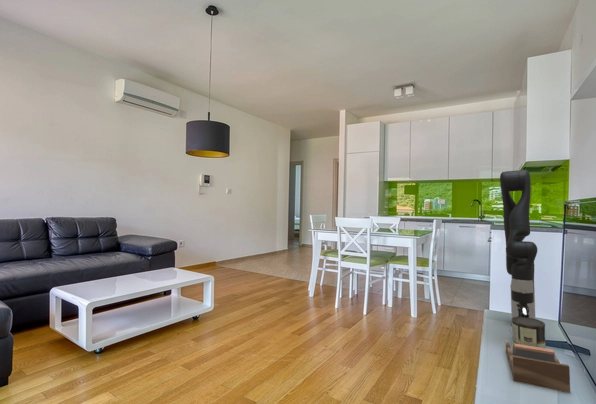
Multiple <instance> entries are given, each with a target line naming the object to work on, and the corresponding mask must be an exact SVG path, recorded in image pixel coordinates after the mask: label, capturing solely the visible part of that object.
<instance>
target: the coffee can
mask: <svg viewBox="0 0 596 404" xmlns="http://www.w3.org/2000/svg"><path fill="white" fill-rule="evenodd" d="M511 327H512V329H511V330H512V353H513V355H514V356H515V350H514V343H515V344H521V345H527V346H533V347H540V348H546V329H545V328H546V323H545V322H544V321H541V320H539V319H537V318H535V319H534V318H529V317H513V318H511Z"/></svg>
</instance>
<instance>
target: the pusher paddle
mask: <svg viewBox="0 0 596 404" xmlns="http://www.w3.org/2000/svg"><path fill="white" fill-rule="evenodd" d="M514 350H515V356H520V357H526V358H531V359H537V360H543V361H549V362H554V363H555V356H556V354H555V350H554V349H552V348H546V347H545V348H540V347H533V346H527V345H521V344H515V343H514Z"/></svg>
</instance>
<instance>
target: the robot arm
mask: <svg viewBox="0 0 596 404" xmlns="http://www.w3.org/2000/svg"><path fill="white" fill-rule="evenodd" d="M531 181H532V180H531V175H530V171H528V170H527V169H516V170H507V171H502V172H501V173H500V175H499V183H500V184H499V185H500V191H501V199H502V208H503V209H502V210H503V229H504V238H505V265H506V266H505V267H506V271H507V272H506V273H507V274H508V275H509V276H511V282H510V307H511V308H510V310H511V311H510V312H511V317H510V318H511V319H512V318H513V317H529V318H534V319H536V299H535V298H536V296H535V260H536V257H537V254H538V246H537V245H536V243H535V242H533V241H524V239H525V238H526V237H528V236H530V235H531V226H530V225H531V223H530V207H531V190H532V189H531V186H532V185H531V184H532V183H531ZM520 191H521V195H520V198H519V200H518V202H517V203H516V202H515V201H514V199H513V197H512V195H511V193H510V192H520Z"/></svg>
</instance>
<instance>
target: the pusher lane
mask: <svg viewBox="0 0 596 404" xmlns="http://www.w3.org/2000/svg"><path fill="white" fill-rule="evenodd" d="M505 354H506V357H507V361H508V365H509V368H510V372H511V375H512V380H513V382H516V383H520V384H521V383H522V384H526V385H531V386H535V387H541V388H546V389H550V390H554V391H555V390H556V391H560V392H564V393H565V392H566V393H571V380H570V379H571V373H570V371H571V370H570V365H569V364H565V363H561V362H560V361H559V359H558V357H557V356H556V355H555V363H554V362H549V361H543V360H537V359H531V358H526V357H520V356H514V355H513V349H512V347H511V344H510V341H505Z"/></svg>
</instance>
